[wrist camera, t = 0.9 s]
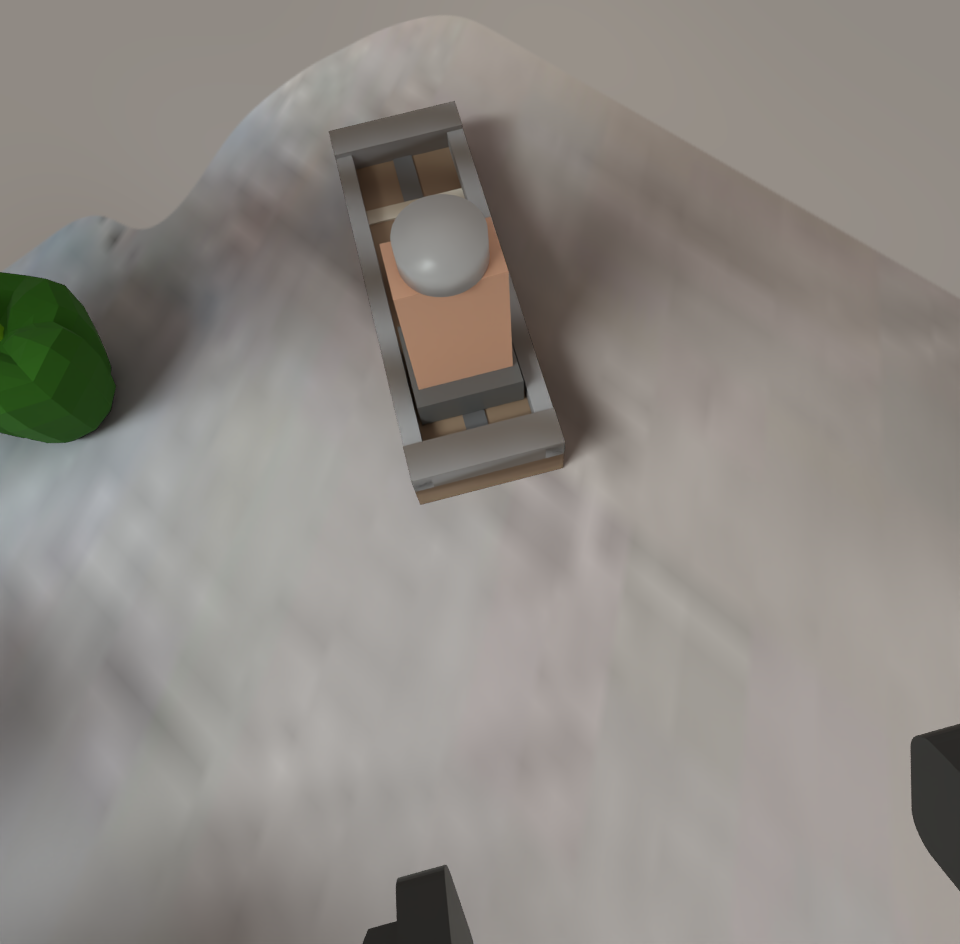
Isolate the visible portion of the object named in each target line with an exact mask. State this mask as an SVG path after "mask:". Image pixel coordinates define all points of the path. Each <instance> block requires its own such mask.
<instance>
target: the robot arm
mask: <svg viewBox="0 0 960 944" xmlns="http://www.w3.org/2000/svg"><path fill="white" fill-rule="evenodd" d="M911 799H912V815H913V819H914V823H915V826H916V829H917V831H918V833H919V836H920V838H921V840H922V842H923V843H924V845H925V847H926V849H927V850H928V852H929V853H930V854H931V856H932V857H933V858H934V860H935V861H936V862H937V863H938V865H939V866H940V867H941V868H942V870H943V871H944V872H945V873H946V875H947V876H948V877H949V878H950V880H951V881H952V882H953V883H954V884H955V886H956V887H957V888H958V889H959V891H960V724H957V725H954V726H950V727H946V728H943V729H939V730H936V731H932V732H928V733H925V734H921V735H918V736H915V737H913V739H912V741H911ZM396 907H397V921H396V922H392V923H389V924H385V925H381V926H378V927H374V928H371V929H368V931H367V934H366V936H365V939H364V941H363V944H473V940H472V936H471V933H470V930H469V927H468V924H467V921H466V918H465V915H464V912H463V909H462V906H461V903H460V900H459V897H458V895H457V892H456V889H455V886H454V883H453V880H452V877H451V874H450V871H449V869H448V867H447V865H443V866H439V867H436V868H432V869H428V870H425V871H421V872H418V873H414V874H410V875H407V876H403V877H400V878H398V879H397V882H396Z"/></svg>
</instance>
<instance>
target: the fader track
mask: <svg viewBox="0 0 960 944" xmlns="http://www.w3.org/2000/svg"><path fill="white" fill-rule="evenodd" d="M329 134H330V138H331V143H332V147H333V151H334V155H335V159H336V163H337V167H338V171H339V176H340V180H341V184H342V188H343V192H344V197H345V201H346V205H347V209H348V214H349V218H350V222H351V226H352V231H353V235H354V239H355V243H356V248H357V252H358V256H359V260H360V265H361V269H362V273H363V277H364V282H365V286H366V290H367V294H368V299H369V303H370V307H371V311H372V316H373V320H374V324H375V328H376V333H377V337H378V341H379V345H380V350H381V354H382V358H383V362H384V367H385V371H386V375H387V379H388V384H389V388H390V392H391V396H392V400H393V405H394V409H395V413H396V417H397V422H398V426H399V430H400V434H401V439H402V443H403V449H404V453H405V457H406V461H407V466H408V470H409V474H410V478H411V482H412V485H413V487H414V490H415V492H416V495H417V497H418V500H419V502H420V505H421V504H425V503H429V502H433V501H437V500H441V499H445V498H448V497H452V496H456V495H460V494H464V493H468V492H472V491H475V490H479V489H483V488H487V487H491V486H495V485H499V484H503V483H506V482H510V481H514V480H518V479H522V478H526V477H530V476H533V475H537V474H541V473H545V472H549V471H553V470H557V469H561V468H563V459H564V449H565V440H564V437H563V434H562V431H561V428H560V424H559V421H558V418H557V415H556V412H555V409H554V408H553V406H552V403H551V400H550V397H549V394H548V390H547V387H546V384H545V381H544V378H543V375H542V372H541V369H540V366H539V363H538V360H537V357H536V353H535V350H534V347H533V344H532V341H531V338H530V335H529V332H528V329H527V326H526V323H525V319H524V316H523V313H522V310H521V307H520V304H519V301H518V298H517V295H516V292H515V289H514V285H513V282H512V279H511V276H510V273H509V291H510V313H511V336H512V345H513V349H514V352H515V355H516V358H517V361H518V365H519V368H520V371H521V374H522V378H523V381H524V399H522V400H518V401H514V402H510V403H506V404H502V405H499V406H495V407H491V408H487V409H483V410H479V411H475V412H471V413H467V414H463V415H459V416H455V417H451V418H448V419H444V420H440V421H436V422H432V423H428V424H424V425H422V422H421V419H420V415H419V412H418V409H417V405H416V401H415V397H414V393H413V389H412V385H411V381H410V377H409V373H408V369H407V364H406V360H405V356H404V352H403V348H402V344H401V340H400V336H399V332H398V328H397V327H399V326H400V322H399V319H398V315H397V312H396V308H395V305H394V301H393V297H392V293H391V289H390V285H389V281H388V277H387V273H386V269H385V265H384V261H383V257H382V253H381V249H380V245H379V244H382V243H386V242H390V241H391V240H390V234H391V228H392V225H393V223H394V221H395V219H396V217H397V216H398V214H399V213H400V212H401V211H402V210H403V209H404V208H405V207H406V206H408V205H409V204H410V203H412V202H414V201H416V200H418V199H420V198H423V197H426V196H430V195H436V194H448V195H455V196H459V197H461V198H464V199H466V200H468V201H470V202H471V203H473V204H474V205H475V206H476V207H478V208H479V210H480V211H481V212H482V214H483V215H484V217H485V218H487V217H491V214H490V211H489V208H488V205H487V202H486V199H485V196H484V193H483V190H482V187H481V184H480V180H479V177H478V174H477V171H476V168H475V165H474V162H473V159H472V156H471V153H470V150H469V146H468V143H467V140H466V137H465V134H464V131H463V127H462V122H461V119H460V116H459V113H458V110H457V107H456V104H455V101H453V102H449V103H445V104H440V105H436V106H432V107H428V108H424V109H420V110H415V111H411V112H407V113H403V114H399V115H395V116H390V117H386V118H382V119H378V120H374V121H370V122H365V123H361V124H357V125H353V126H349V127H345V128H340V129H336V130H332V131H329ZM491 219H492V218H491ZM492 222H493V221H492ZM493 225H494V224H493ZM494 228H495V227H494ZM495 231H496V230H495ZM496 234H497V233H496ZM497 237H498V236H497ZM498 240H499V239H498ZM499 243H500V242H499ZM500 247H501V245H500ZM501 250H502V248H501ZM502 253H503V251H502ZM503 256H504V255H503ZM504 259H505V258H504ZM505 262H506V261H505ZM506 265H507V264H506ZM507 268H508V267H507ZM508 271H509V270H508Z"/></svg>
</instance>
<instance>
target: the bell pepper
mask: <svg viewBox="0 0 960 944" xmlns="http://www.w3.org/2000/svg"><path fill="white" fill-rule="evenodd" d="M115 389H116V385H115V383H114V381H113V378H112V376H111V365H110V362H109V359H108V357H107V354H106V351H105V349H104V346H103V344H102V342H101V340H100V337H99V335H98V333H97V331H96V329H95V327H94V325H93V323H92V321H91V319H90V317H89V315H88V313H87V312H86V310H85V308H84V306H83V305H82V304H81V303H80V302H79V301H78V300H77V298H76V297H75V296H74V295H73V294H72V293H71V292H70V291H69V289H68V288H67V287H66V286H65V285H62V284H59V283H56V282H53V281H51V280H48V279H44V278H38V277H32V276H26V275H18V274H10V273H2V272H0V433H4V434H8V435H12V436H17V437H21V438H29V439H32V440H37V441H41V442H45V443H66V442H71V441H74V440H76V439H78V438H80V437H82V436H84V435H86V434H88V433H90V432H92V431H94V430H96V429H97V427H98V426H99V425H100V424H101V422H102V421H103V420H104V419H105V417H106V416H107V415H108V413H109V412H110V411H111V407H112V402H113V397H114V393H115Z"/></svg>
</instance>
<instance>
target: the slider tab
mask: <svg viewBox="0 0 960 944" xmlns="http://www.w3.org/2000/svg"><path fill="white" fill-rule="evenodd" d="M390 240H391V241H390V242H386V243H382V244H379V245H380V249H381V253H382V257H383V261H384V265H385V269H386V273H387V277H388V281H389V285H390V289H391V293H392V297H393V301H394V305H395V308H396V312H397V315H398V319H399V322H400V326H399V327H397V328H398V332H399V336H400V340H401V344H402V348H403V352H404V356H405V360H406V364H407V369H408V373H409V377H410V381H411V385H412V389H413V393H414V397H415V401H416V405H417V409H418V412H419V415H420V419H421V422H422V425H424V424H428V423H432V422H436V421H440V420H444V419H448V418H451V417H455V416H459V415H463V414H467V413H471V412H475V411H479V410H483V409H487V408H491V407H495V406H499V405H502V404H506V403H510V402H514V401H518V400H522V399H524V381H523V378H522V374H521V371H520V368H519V365H518V361H517V358H516V355H515V352H514V349H513V345H512V336H511V313H510V291H509V271H508V268H507V265H506V262H505V259H504V256H503V253H502V250H501V247H500V243H499V240H498V237H497V234H496V231H495V228H494V225H493V222H492V219H491V217H487V218H485V217H484V215H483V214H482V212H481V211H480V210H479V208H478V207H476V206H475V205H474V204H473V203H471V202H470V201H468V200H466V199H464V198H461V197H459V196H455V195H448V194H436V195H430V196H426V197H423V198H420V199H418V200H416V201H414V202H412V203H410V204H409V205H408V206H406V207H405V208H404V209H403V210H402V211H401V212H400V213H399V214H398V216H397V217H396V219H395V221H394V223H393V225H392V228H391V234H390Z"/></svg>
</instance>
